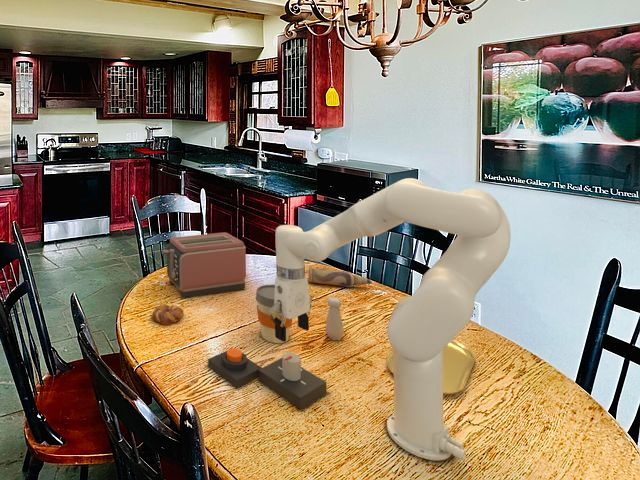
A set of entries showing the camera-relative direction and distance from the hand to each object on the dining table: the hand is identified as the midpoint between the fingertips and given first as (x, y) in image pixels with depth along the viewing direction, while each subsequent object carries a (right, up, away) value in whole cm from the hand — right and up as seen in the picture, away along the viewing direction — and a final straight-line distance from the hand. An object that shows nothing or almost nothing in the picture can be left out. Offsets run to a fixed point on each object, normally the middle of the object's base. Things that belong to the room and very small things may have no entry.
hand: (292, 333), depth 109 cm
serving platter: (+45, -15, +10) cm, 48 cm away
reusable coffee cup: (+3, -15, +26) cm, 30 cm away
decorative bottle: (+43, -15, +67) cm, 81 cm away
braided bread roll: (-34, -15, +39) cm, 54 cm away
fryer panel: (0, -15, 0) cm, 15 cm away
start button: (-15, -11, +7) cm, 20 cm away
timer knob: (0, -11, 0) cm, 11 cm away
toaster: (-18, -16, +68) cm, 72 cm away
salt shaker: (+23, -15, +25) cm, 37 cm away
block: (-15, -15, +7) cm, 22 cm away
